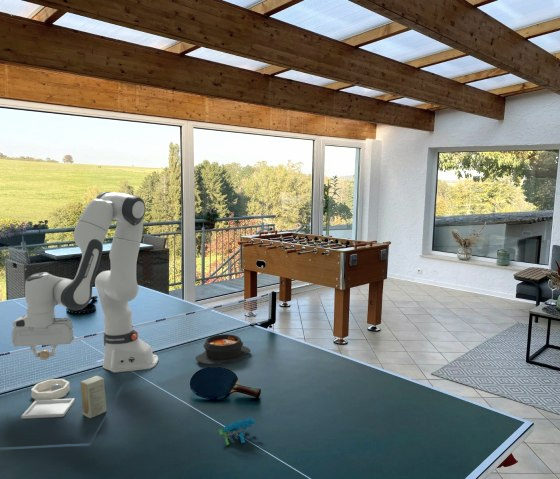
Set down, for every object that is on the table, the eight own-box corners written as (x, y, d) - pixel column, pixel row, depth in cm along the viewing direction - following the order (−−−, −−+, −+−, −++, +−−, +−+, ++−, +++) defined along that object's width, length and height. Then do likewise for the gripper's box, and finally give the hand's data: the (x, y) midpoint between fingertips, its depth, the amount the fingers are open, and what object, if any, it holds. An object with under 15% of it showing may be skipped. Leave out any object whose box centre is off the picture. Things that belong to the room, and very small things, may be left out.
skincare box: (99, 409, 167) (97, 374, 165) (107, 412, 164) (104, 377, 162) (82, 416, 162) (79, 380, 160) (89, 420, 159) (86, 384, 157)
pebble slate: (62, 391, 179) (64, 383, 179) (58, 397, 176) (60, 388, 175) (52, 388, 179) (54, 380, 178) (48, 394, 176) (50, 385, 175)
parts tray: (75, 402, 171) (74, 398, 171) (63, 418, 160) (63, 413, 160) (35, 404, 170) (35, 400, 170) (21, 420, 159) (21, 415, 159)
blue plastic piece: (252, 423, 153) (255, 412, 145) (258, 442, 150) (261, 432, 142) (217, 433, 150) (218, 423, 142) (222, 453, 147) (223, 444, 139)
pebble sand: (52, 357, 177) (51, 347, 177) (48, 361, 174) (47, 351, 173) (41, 357, 177) (41, 348, 177) (37, 361, 174) (36, 352, 173)
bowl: (73, 387, 184) (72, 378, 183) (62, 401, 172) (61, 392, 172) (41, 388, 183) (40, 379, 182) (27, 403, 171) (26, 393, 171)
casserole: (233, 346, 227) (233, 328, 225) (259, 356, 213) (259, 338, 212) (187, 360, 210) (186, 341, 209) (212, 372, 196) (211, 352, 195)
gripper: (74, 315, 177) (77, 351, 179) (15, 317, 176) (19, 354, 178) (68, 320, 171) (71, 358, 173) (7, 322, 169) (11, 361, 171)
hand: (44, 356), depth 175 cm, fingers closed on pebble sand, 4 cm apart
